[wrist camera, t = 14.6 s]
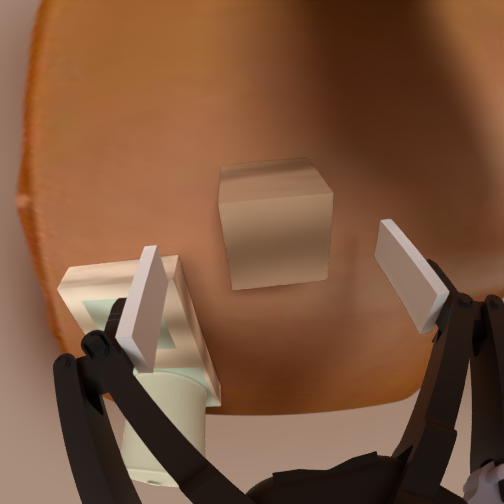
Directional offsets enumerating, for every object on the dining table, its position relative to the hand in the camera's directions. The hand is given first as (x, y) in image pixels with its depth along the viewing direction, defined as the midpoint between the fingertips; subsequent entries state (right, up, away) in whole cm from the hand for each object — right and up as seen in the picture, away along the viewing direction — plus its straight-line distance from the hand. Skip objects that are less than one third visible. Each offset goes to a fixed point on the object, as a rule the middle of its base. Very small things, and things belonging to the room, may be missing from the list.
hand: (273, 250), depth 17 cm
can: (-11, -16, +15) cm, 24 cm away
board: (-12, -10, +13) cm, 20 cm away
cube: (0, +4, +5) cm, 6 cm away
